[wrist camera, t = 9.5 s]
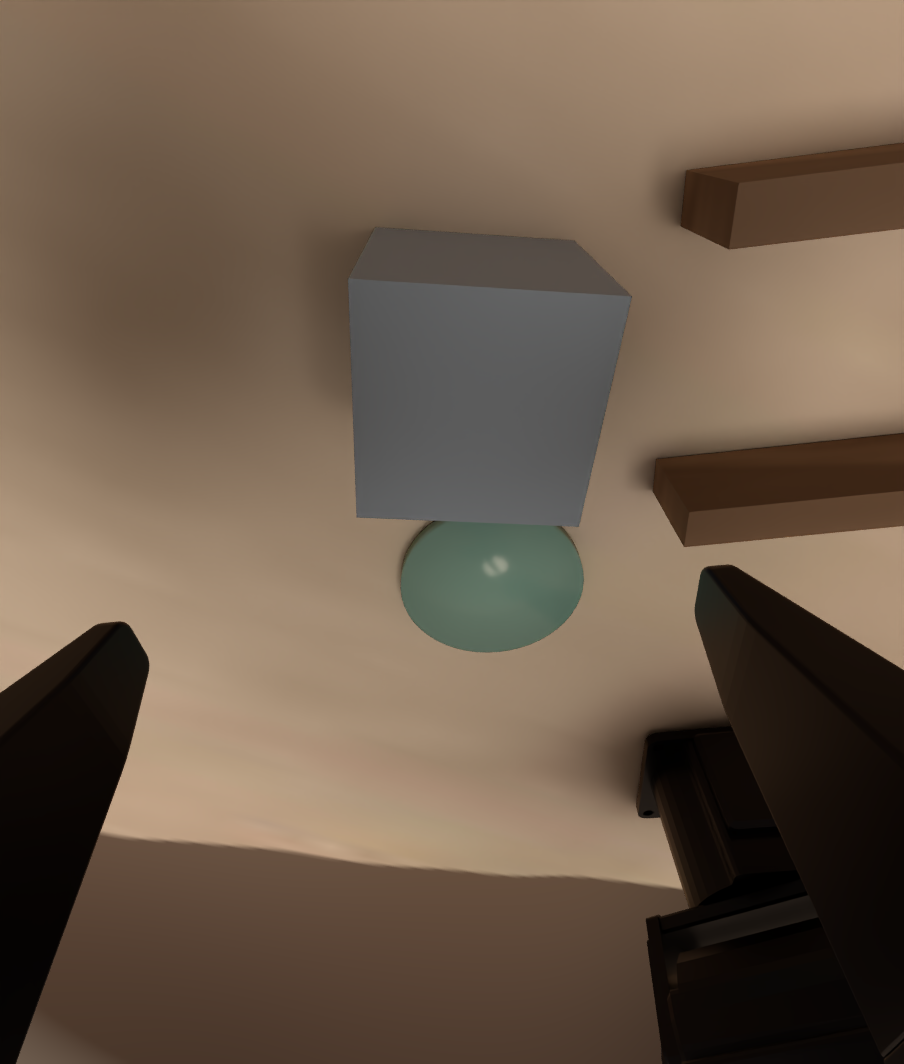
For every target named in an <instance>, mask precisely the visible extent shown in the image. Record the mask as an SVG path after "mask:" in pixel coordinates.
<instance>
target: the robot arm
mask: <svg viewBox="0 0 904 1064" xmlns="http://www.w3.org/2000/svg"><path fill="white" fill-rule="evenodd" d="M695 618H696V623H697V626H698V629H699V632H700V635H701V638H702V642H703V645H704V648H705V651H706V654H707V657H708V660H709V663H710V667H711V670H712V673H713V676H714V679H715V682H716V685H717V689H718V692H719V695H720V698H721V701H722V704H723V706H724V709H725V712H726V714H727V717H728V719H729V721H730V724H731V726H732V727H723V728H711V729H698V730H686V731H674V732H662V733H654V734H651V735H649V736H648V737H647V738H646V739H645V743H644V751H643V758H642V766H641V773H640V781H639V788H638V796H637V803H636V808H637V811H638V815H639V816H640V817H641V818H658V817H660V818H661V821H662V824H663V827H664V831H665V834H666V837H667V840H668V843H669V847H670V850H671V853H672V856H673V859H674V862H675V866H676V869H677V872H678V875H679V878H680V882H681V885H682V888H683V891H684V894H685V897H686V900H687V903H688V907H689V909H686V910H682V911H679V912H675V913H672V914H668V915H665V916H660V915H655V916H651V917H648V918H646V924H647V931H648V938H649V940H647V946H648V954H649V961H650V968H651V976H652V983H653V990H654V997H655V1004H656V1012H657V1019H658V1026H659V1033H660V1040H661V1059H662V1064H904V670H903V669H901V668H899V667H898V666H896V665H895V664H893V663H891V662H890V661H888V660H886V659H885V658H883V657H882V656H880V655H878V654H877V653H875V652H873V651H872V650H870V649H869V648H867V647H865V646H864V645H862V644H860V643H859V642H857V641H856V640H854V639H852V638H851V637H849V636H847V635H846V634H844V633H843V632H841V631H839V630H838V629H836V628H834V627H833V626H831V625H830V624H828V623H826V622H825V621H823V620H821V619H820V618H818V617H817V616H815V615H813V614H812V613H810V612H808V611H807V610H805V609H804V608H802V607H800V606H799V605H797V604H795V603H794V602H792V601H791V600H789V599H787V598H786V597H784V596H782V595H781V594H779V593H778V592H776V591H774V590H773V589H771V588H769V587H768V586H766V585H765V584H763V583H761V582H760V581H758V580H756V579H755V578H753V577H752V576H750V575H748V574H747V573H745V572H743V571H742V570H740V569H739V568H737V567H735V566H733V565H718V566H708V567H705V568H704V569H703V570H702V572H701V575H700V580H699V586H698V591H697V597H696V602H695ZM148 673H149V660H148V656H147V654H146V652H145V651H144V649H143V647H142V646H141V644H140V642H139V640H138V639H137V637H136V635H135V634H134V632H133V630H132V629H131V627H130V626H129V625H128V624H127V623H125V622H120V621H119V622H109V623H101V624H97V625H95V626H93V627H92V628H91V629H89V630H88V631H86V632H85V633H84V634H82V635H81V636H79V637H78V638H77V639H75V640H74V641H72V642H71V643H70V644H68V645H67V646H65V647H64V648H63V649H61V650H60V651H58V652H57V653H56V654H54V655H53V656H51V657H50V658H49V659H47V660H46V661H44V662H43V663H42V664H40V665H39V666H37V667H36V668H35V669H33V670H32V671H30V672H29V673H28V674H26V675H25V676H23V677H22V678H21V679H19V680H18V681H16V682H15V683H14V684H12V685H11V686H9V687H8V688H6V689H5V690H4V691H2V692H1V693H0V1064H16V1062H17V1059H18V1056H19V1053H20V1051H21V1048H22V1045H23V1043H24V1040H25V1037H26V1034H27V1031H28V1029H29V1026H30V1023H31V1021H32V1018H33V1015H34V1012H35V1010H36V1007H37V1004H38V1001H39V998H40V996H41V993H42V990H43V988H44V985H45V982H46V980H47V977H48V974H49V971H50V969H51V965H52V963H53V960H54V957H55V955H56V952H57V949H58V947H59V944H60V941H61V938H62V936H63V933H64V930H65V927H66V925H67V922H68V919H69V916H70V914H71V911H72V908H73V906H74V903H75V900H76V897H77V895H78V892H79V889H80V886H81V884H82V881H83V878H84V875H85V873H86V870H87V867H88V864H89V862H90V859H91V856H92V853H93V851H94V848H95V845H96V842H97V840H98V837H99V834H100V832H101V829H102V826H103V823H104V821H105V818H106V815H107V812H108V810H109V807H110V804H111V801H112V799H113V796H114V793H115V790H116V788H117V785H118V782H119V780H120V777H121V774H122V771H123V768H124V765H125V762H126V759H127V755H128V752H129V748H130V745H131V741H132V737H133V733H134V729H135V725H136V721H137V717H138V713H139V709H140V705H141V701H142V697H143V693H144V689H145V685H146V681H147V677H148Z"/></svg>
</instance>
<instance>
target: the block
mask: <svg viewBox="0 0 904 1064" xmlns="http://www.w3.org/2000/svg"><path fill="white" fill-rule="evenodd" d="M348 291H349V318H350V346H351V374H352V402H353V429H354V457H355V485H356V513H357V517H359V518H383V519H406V520H430V521H454V522H478V523H502V524H526V525H549V526H573V527H579V524H580V519H581V515H582V511H583V506H584V502H585V498H586V493H587V489H588V485H589V480H590V476H591V472H592V467H593V463H594V459H595V454H596V450H597V446H598V441H599V437H600V433H601V428H602V424H603V420H604V415H605V411H606V406H607V402H608V398H609V393H610V389H611V385H612V380H613V376H614V372H615V367H616V363H617V359H618V354H619V350H620V346H621V341H622V337H623V333H624V328H625V324H626V320H627V315H628V311H629V307H630V302H631V298H632V296H631V295H630V294H629V293H628V292H627V291H626V290H625V289H624V288H623V287H622V286H621V285H620V284H618V283H617V282H616V281H615V280H614V279H613V278H612V277H611V276H610V275H609V274H608V273H607V272H606V271H605V270H604V269H603V268H602V267H601V266H600V265H599V264H598V263H597V262H596V261H595V260H594V259H593V258H592V257H591V256H590V255H589V254H588V253H587V252H586V251H585V250H584V249H583V248H582V247H580V246H579V245H578V244H577V243H576V242H575V241H573V240H558V239H543V238H528V237H514V236H499V235H484V234H469V233H454V232H439V231H425V230H410V229H395V228H380V227H375V229H374V231H373V232H372V234H371V236H370V238H369V240H368V242H367V244H366V246H365V248H364V249H363V251H362V253H361V255H360V257H359V259H358V261H357V263H356V265H355V266H354V268H353V270H352V272H351V274H350V276H349V278H348Z"/></svg>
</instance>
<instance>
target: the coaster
mask: <svg viewBox="0 0 904 1064" xmlns="http://www.w3.org/2000/svg"><path fill="white" fill-rule="evenodd" d="M583 582H584V578H583V569H582V564H581V561H580V558H579V554H578V551H577V549H576V547H575V544H574V542H573V541H572V539H571V538H570V536H569V535H568V533H567V532H566V531H565V530H564V529H563V528H562V527H561V526H549V525H526V524H502V523H478V522H454V521H434V522H433V523H431V524H430V525H428V526H427V527H426V528H425V529H424V530H423V531H422V532H421V533H420V534H419V535H418V536H417V537H416V538H415V540H414V541H413V542H412V544H411V546H410V547H409V549H408V551H407V553H406V556H405V558H404V562H403V566H402V575H401V595H402V600H403V603H404V606H405V608H406V610H407V612H408V614H409V616H410V617H411V619H412V620H413V622H414V623H415V624H416V625H417V626H418V627H419V628H420V629H421V630H422V631H424V632H425V633H426V634H427V635H429V636H430V637H432V638H434V639H435V640H437V641H439V642H441V643H443V644H445V645H448V646H451V647H454V648H457V649H462V650H466V651H473V652H501V651H508V650H513V649H517V648H521V647H524V646H527V645H530V644H532V643H534V642H537V641H539V640H541V639H543V638H544V637H546V636H548V635H549V634H551V633H552V632H554V631H555V630H556V629H558V628H559V627H560V626H561V625H562V624H563V623H564V622H565V621H566V620H567V619H568V618H569V616H570V615H571V614H572V612H573V611H574V609H575V608H576V606H577V604H578V602H579V600H580V597H581V593H582V590H583Z"/></svg>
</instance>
